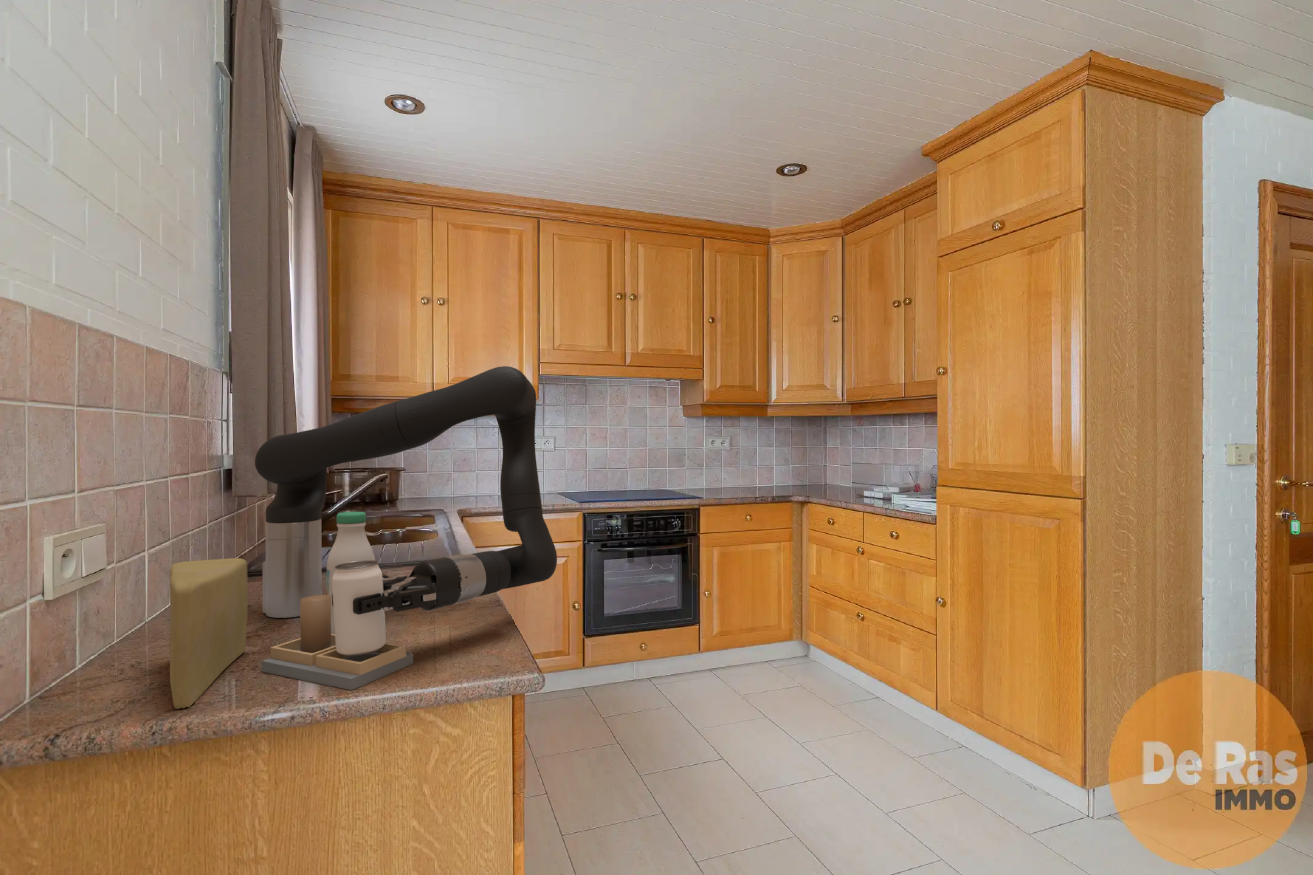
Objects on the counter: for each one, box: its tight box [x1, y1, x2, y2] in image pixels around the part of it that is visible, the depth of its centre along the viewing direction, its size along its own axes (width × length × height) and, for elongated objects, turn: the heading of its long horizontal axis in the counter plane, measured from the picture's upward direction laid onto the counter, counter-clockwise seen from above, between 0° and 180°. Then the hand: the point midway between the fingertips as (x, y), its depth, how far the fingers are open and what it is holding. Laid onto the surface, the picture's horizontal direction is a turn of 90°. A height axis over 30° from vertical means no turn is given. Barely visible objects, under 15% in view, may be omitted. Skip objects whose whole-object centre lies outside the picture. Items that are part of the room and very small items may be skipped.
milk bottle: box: [325, 511, 376, 634], centre depth 115 cm, size 8×8×20 cm
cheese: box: [169, 557, 249, 710], centre depth 91 cm, size 22×10×15 cm, turn 26°
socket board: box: [260, 594, 414, 691], centre depth 96 cm, size 17×11×10 cm, turn 67°
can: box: [332, 560, 387, 656], centre depth 95 cm, size 6×6×12 cm
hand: (344, 603), depth 92 cm, fingers closed on can, 5 cm apart
